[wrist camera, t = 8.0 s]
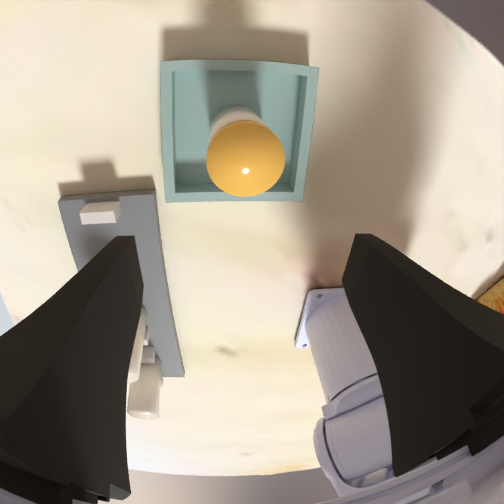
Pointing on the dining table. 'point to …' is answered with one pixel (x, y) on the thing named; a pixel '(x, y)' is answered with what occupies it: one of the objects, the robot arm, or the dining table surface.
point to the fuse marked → (243, 152)
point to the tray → (225, 94)
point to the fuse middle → (137, 348)
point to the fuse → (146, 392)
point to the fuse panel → (149, 253)
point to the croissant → (494, 297)
